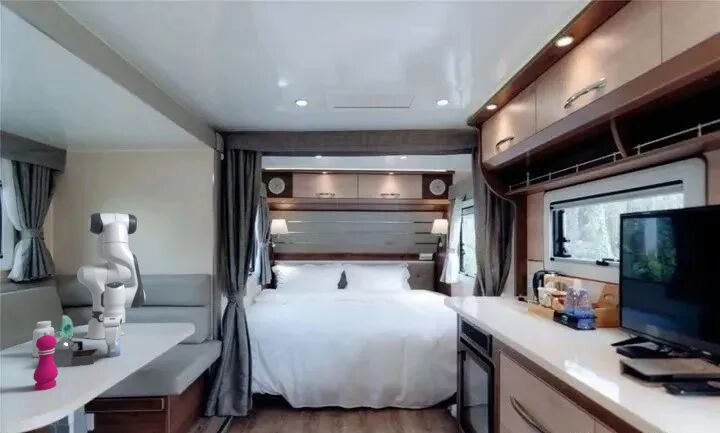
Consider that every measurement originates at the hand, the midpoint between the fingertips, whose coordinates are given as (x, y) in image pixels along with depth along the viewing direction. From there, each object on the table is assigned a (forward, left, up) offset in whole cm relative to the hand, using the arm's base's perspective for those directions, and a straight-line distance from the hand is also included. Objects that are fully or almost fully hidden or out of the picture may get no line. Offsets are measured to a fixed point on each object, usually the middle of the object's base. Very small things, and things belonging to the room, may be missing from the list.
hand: (113, 349), depth 197 cm
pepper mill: (+36, -17, -3) cm, 40 cm away
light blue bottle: (0, 0, -3) cm, 3 cm away
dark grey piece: (+5, -14, -3) cm, 15 cm away
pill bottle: (-14, -30, -3) cm, 33 cm away
